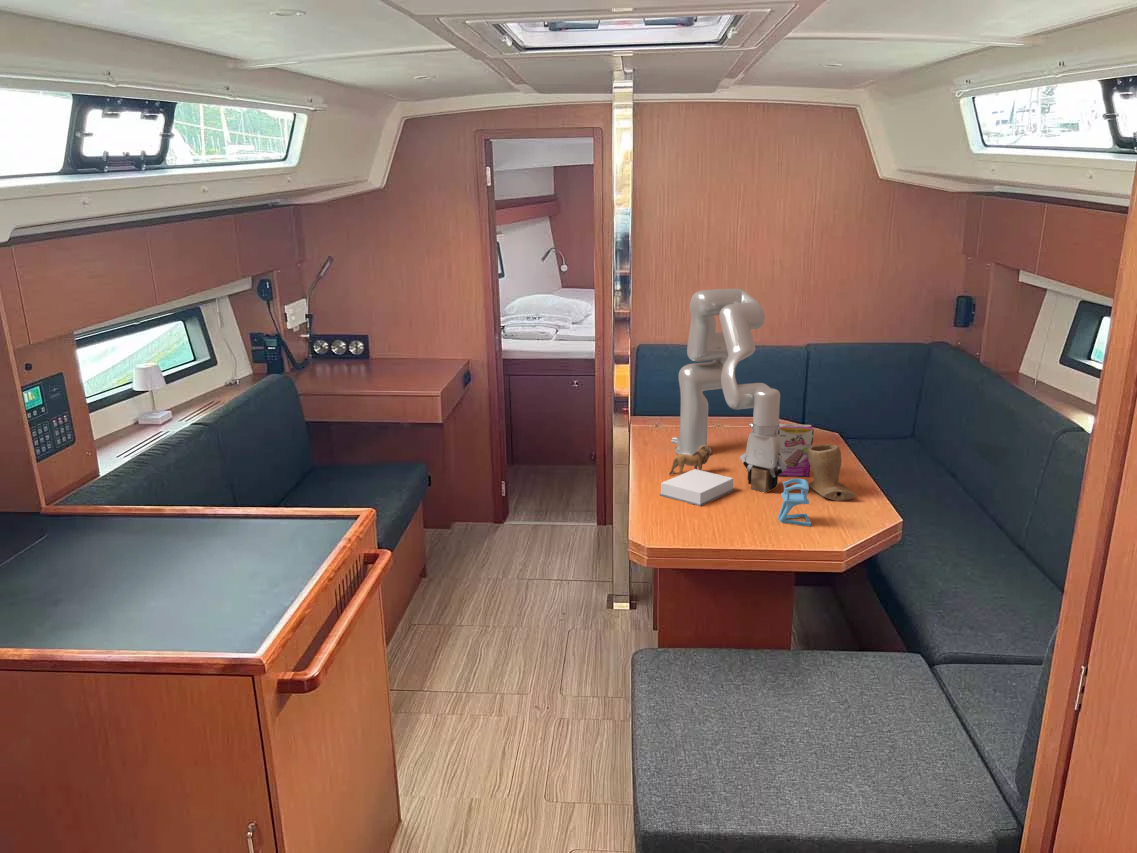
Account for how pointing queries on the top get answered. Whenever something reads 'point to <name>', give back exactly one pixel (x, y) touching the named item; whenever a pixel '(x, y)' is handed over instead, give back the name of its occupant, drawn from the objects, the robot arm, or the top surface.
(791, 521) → the chair
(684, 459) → the lion figurine
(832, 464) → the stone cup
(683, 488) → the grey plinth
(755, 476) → the walnut block
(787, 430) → the candy bar box
